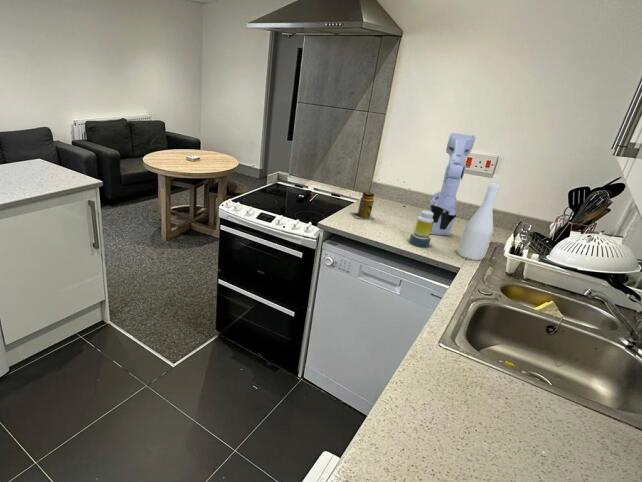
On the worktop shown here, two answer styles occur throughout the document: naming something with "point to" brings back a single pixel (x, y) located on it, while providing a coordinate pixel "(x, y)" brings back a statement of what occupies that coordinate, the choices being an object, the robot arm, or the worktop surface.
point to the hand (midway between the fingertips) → (438, 225)
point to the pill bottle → (423, 225)
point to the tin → (419, 241)
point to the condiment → (365, 206)
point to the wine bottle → (479, 228)
